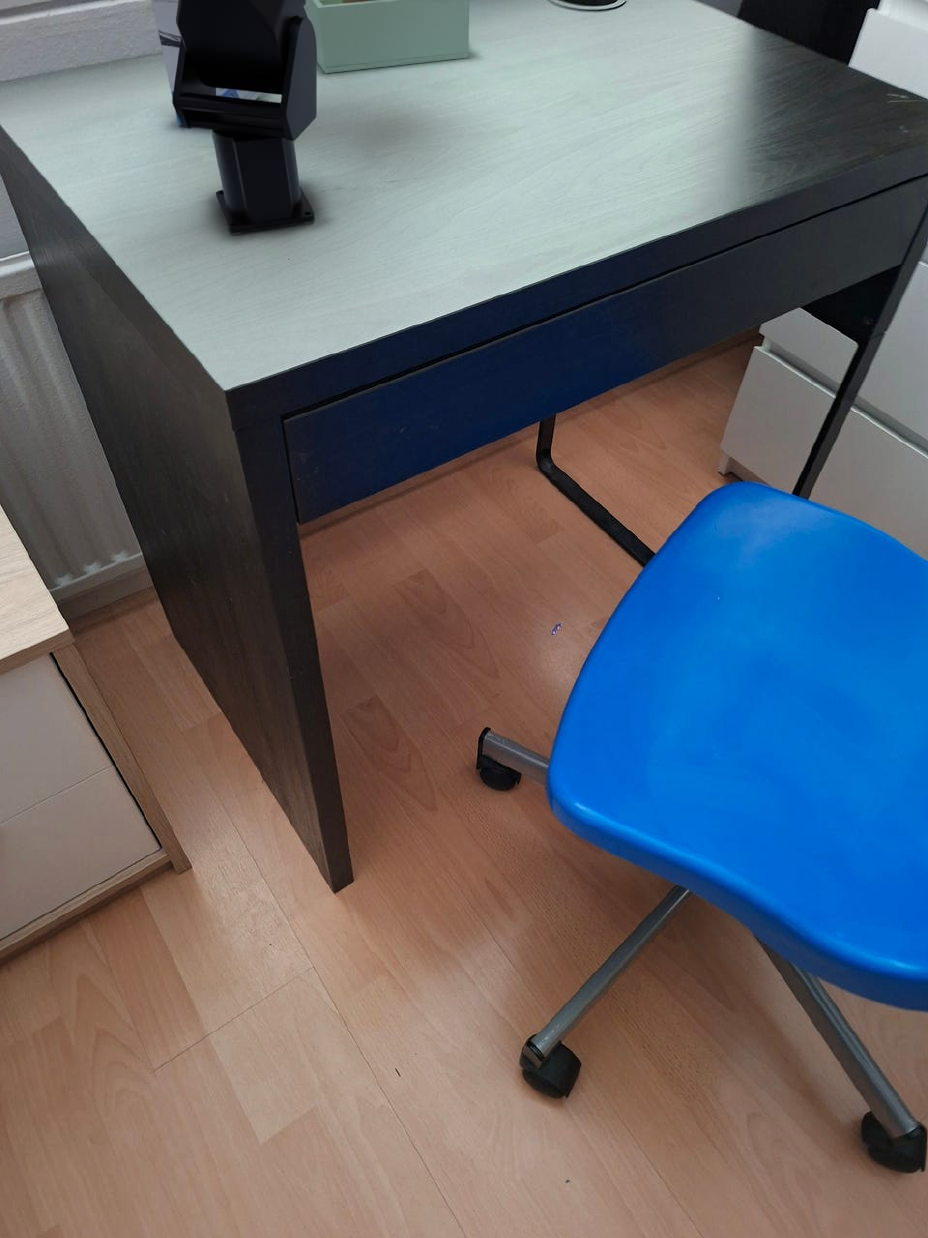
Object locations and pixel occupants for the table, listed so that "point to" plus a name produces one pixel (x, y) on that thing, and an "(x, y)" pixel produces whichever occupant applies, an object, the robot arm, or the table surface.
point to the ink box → (170, 42)
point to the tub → (388, 32)
